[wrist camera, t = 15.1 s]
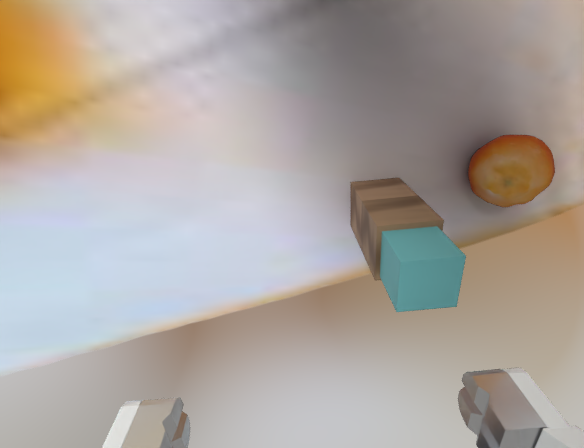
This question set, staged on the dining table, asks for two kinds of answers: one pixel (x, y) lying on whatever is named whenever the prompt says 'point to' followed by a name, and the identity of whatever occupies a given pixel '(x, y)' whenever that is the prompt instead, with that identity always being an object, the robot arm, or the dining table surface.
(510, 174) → the fruit
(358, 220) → the block
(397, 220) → the tower top
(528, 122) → the dining table surface
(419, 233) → the teal block
